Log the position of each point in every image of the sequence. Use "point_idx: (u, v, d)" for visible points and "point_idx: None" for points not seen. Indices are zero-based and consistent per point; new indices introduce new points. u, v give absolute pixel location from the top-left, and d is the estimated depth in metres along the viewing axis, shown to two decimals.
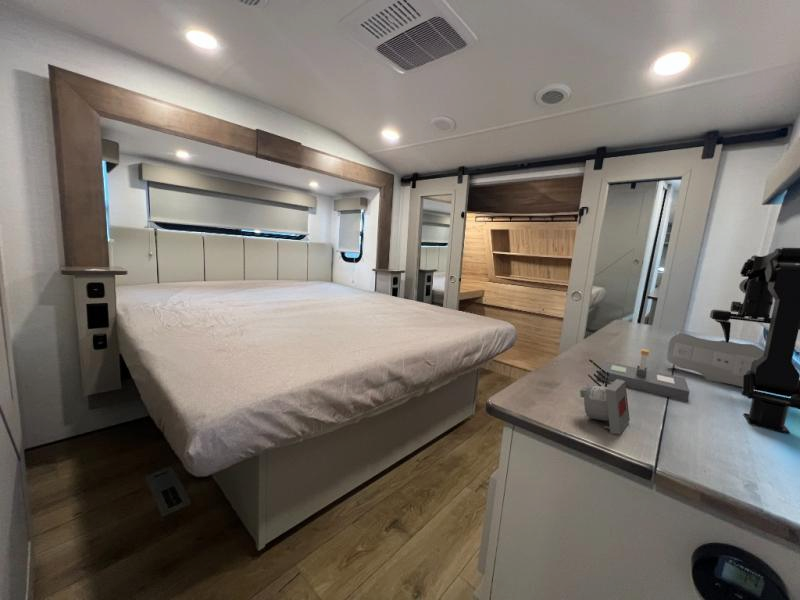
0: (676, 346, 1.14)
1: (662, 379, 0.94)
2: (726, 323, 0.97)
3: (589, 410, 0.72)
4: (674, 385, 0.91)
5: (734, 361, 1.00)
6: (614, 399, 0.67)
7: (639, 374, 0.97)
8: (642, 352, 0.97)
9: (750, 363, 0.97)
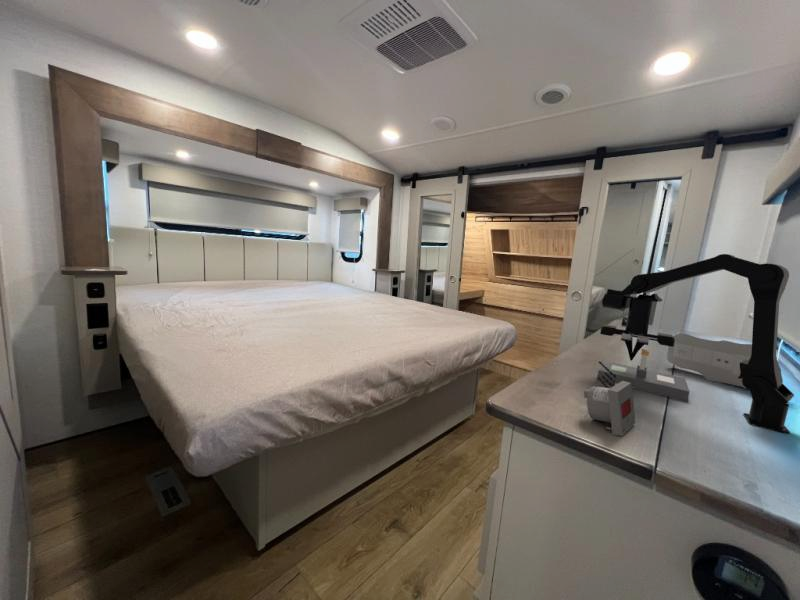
0: (676, 346, 1.14)
1: (662, 379, 0.94)
2: (628, 341, 0.98)
3: (592, 411, 0.72)
4: (674, 385, 0.91)
5: (734, 361, 1.00)
6: (616, 400, 0.67)
7: (639, 374, 0.97)
8: (642, 352, 0.97)
9: None
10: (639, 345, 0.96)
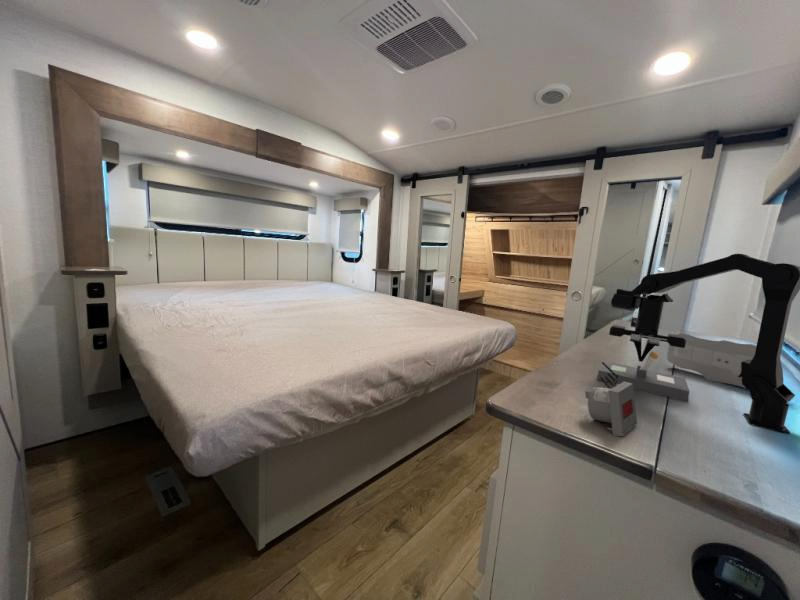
0: None
1: (662, 379, 0.94)
2: (637, 342, 0.97)
3: (593, 411, 0.71)
4: (674, 385, 0.91)
5: (734, 361, 1.00)
6: (617, 400, 0.67)
7: (639, 374, 0.97)
8: (651, 354, 0.96)
9: None
10: (649, 346, 0.95)
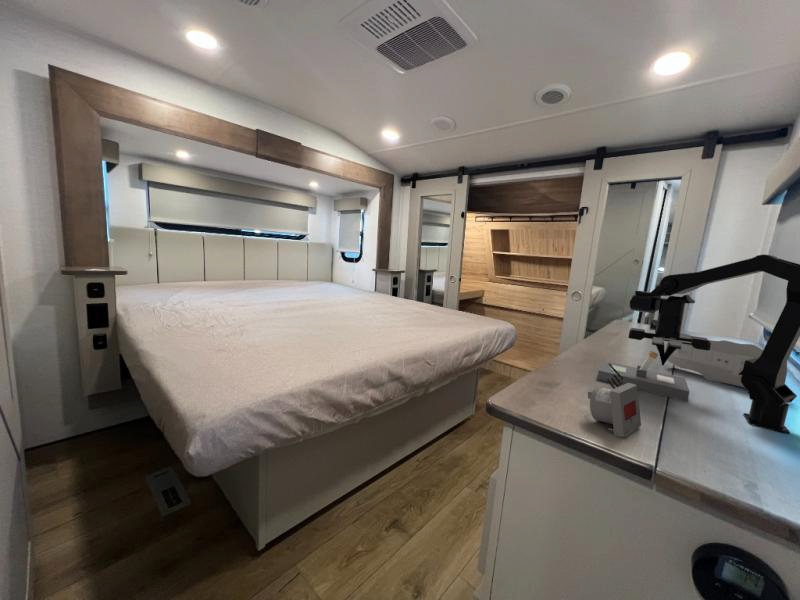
0: None
1: (662, 379, 0.94)
2: (660, 345, 0.93)
3: (594, 412, 0.71)
4: (674, 385, 0.91)
5: (734, 361, 1.00)
6: (618, 401, 0.66)
7: (639, 374, 0.97)
8: (651, 354, 0.96)
9: None
10: (671, 349, 0.92)
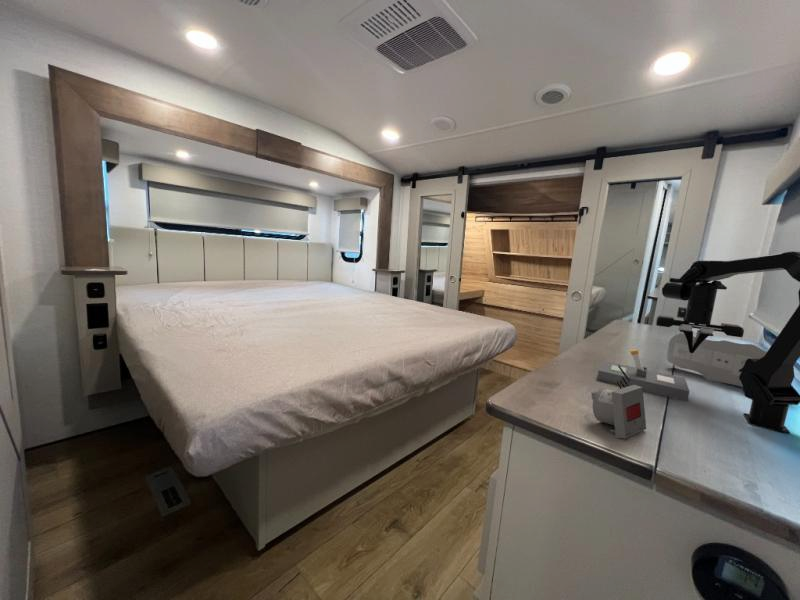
0: (676, 346, 1.14)
1: (662, 379, 0.94)
2: (688, 332, 0.92)
3: (597, 412, 0.71)
4: (674, 385, 0.91)
5: (734, 361, 1.00)
6: (620, 402, 0.66)
7: (639, 374, 0.97)
8: (631, 352, 0.99)
9: None
10: (702, 336, 0.90)
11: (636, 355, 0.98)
